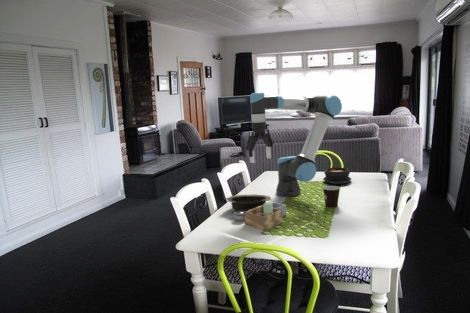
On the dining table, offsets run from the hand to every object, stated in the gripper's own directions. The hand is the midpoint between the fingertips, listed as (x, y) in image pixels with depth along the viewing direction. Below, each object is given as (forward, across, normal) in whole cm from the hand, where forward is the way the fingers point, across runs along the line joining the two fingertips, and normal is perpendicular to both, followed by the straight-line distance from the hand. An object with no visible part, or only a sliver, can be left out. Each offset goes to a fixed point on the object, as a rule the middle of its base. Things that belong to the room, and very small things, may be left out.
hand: (260, 160), depth 207 cm
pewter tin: (+26, +24, +6) cm, 36 cm away
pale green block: (+26, +21, +21) cm, 39 cm away
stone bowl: (+27, +8, -3) cm, 28 cm away
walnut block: (+26, +21, +15) cm, 37 cm away
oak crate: (+26, +21, +19) cm, 39 cm away
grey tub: (+27, +9, +16) cm, 32 cm away
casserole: (+27, -71, +5) cm, 76 cm away
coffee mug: (+27, -24, +29) cm, 46 cm away
